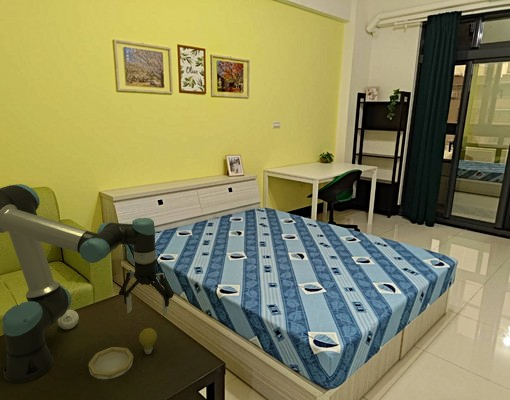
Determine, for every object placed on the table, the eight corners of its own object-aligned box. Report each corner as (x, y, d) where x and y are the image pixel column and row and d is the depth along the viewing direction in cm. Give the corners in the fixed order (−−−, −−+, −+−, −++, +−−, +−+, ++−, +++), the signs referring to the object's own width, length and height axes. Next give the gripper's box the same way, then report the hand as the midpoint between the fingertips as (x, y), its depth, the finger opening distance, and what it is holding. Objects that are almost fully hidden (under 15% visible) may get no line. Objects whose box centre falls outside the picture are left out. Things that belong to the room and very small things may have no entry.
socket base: (80, 377, 124) (80, 372, 124) (101, 349, 139) (101, 345, 138) (122, 381, 124) (122, 376, 123) (139, 352, 138) (138, 348, 138)
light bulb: (152, 359, 135) (151, 336, 133) (136, 356, 136) (135, 333, 134) (160, 348, 142) (159, 326, 139) (144, 345, 143) (144, 323, 140)
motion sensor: (58, 334, 147) (56, 318, 145) (58, 325, 153) (56, 309, 152) (80, 329, 151) (78, 313, 149) (78, 320, 157) (77, 304, 155)
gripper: (106, 262, 126) (110, 315, 131) (176, 266, 125) (177, 320, 130) (116, 254, 133) (119, 305, 138) (181, 258, 132) (182, 309, 137)
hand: (147, 312), depth 134 cm, fingers open, 13 cm apart
